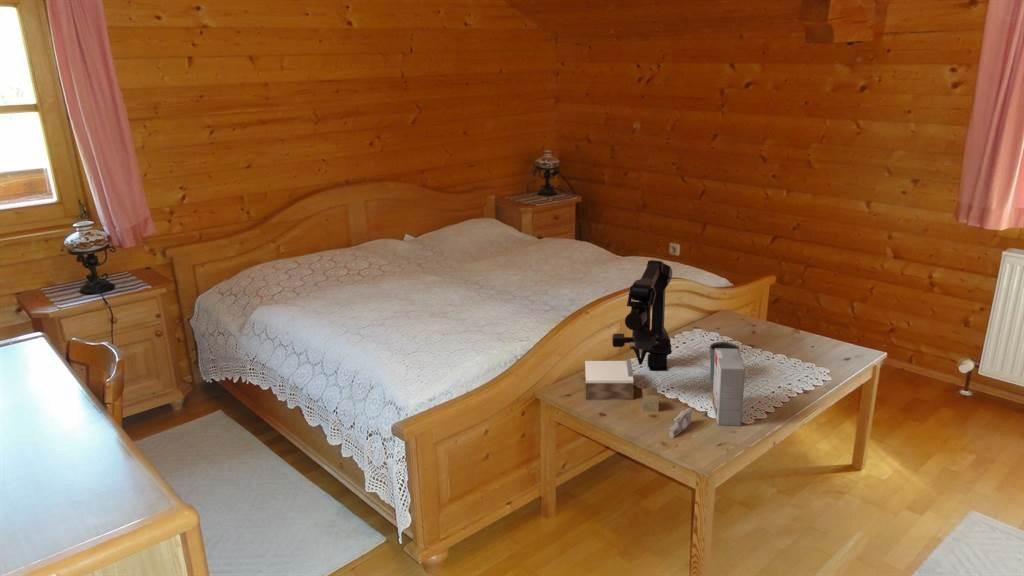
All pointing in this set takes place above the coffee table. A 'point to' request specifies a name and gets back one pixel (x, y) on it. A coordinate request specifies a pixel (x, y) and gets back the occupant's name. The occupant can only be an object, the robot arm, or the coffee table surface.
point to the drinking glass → (712, 353)
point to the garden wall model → (681, 422)
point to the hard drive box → (728, 386)
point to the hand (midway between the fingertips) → (640, 364)
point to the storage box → (609, 391)
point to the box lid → (609, 371)
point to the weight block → (650, 400)
